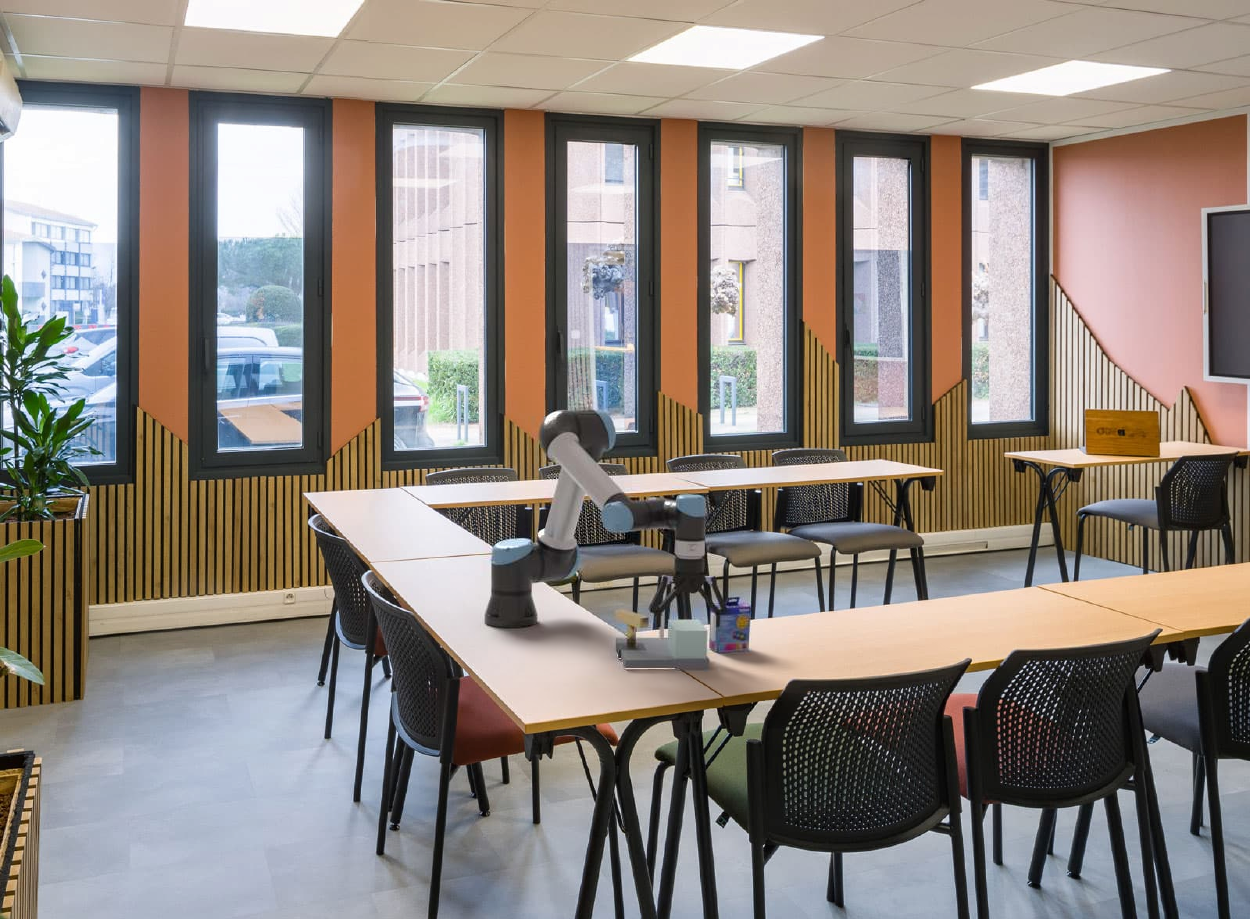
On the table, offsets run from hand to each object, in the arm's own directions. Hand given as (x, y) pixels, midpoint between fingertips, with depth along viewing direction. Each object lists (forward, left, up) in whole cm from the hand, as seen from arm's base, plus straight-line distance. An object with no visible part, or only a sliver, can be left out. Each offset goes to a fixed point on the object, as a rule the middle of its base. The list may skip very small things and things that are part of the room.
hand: (687, 639), depth 295 cm
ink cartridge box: (-12, +13, -6) cm, 19 cm away
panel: (-4, -6, -6) cm, 9 cm away
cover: (0, 0, -3) cm, 3 cm away
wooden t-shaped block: (-6, -14, -3) cm, 15 cm away
